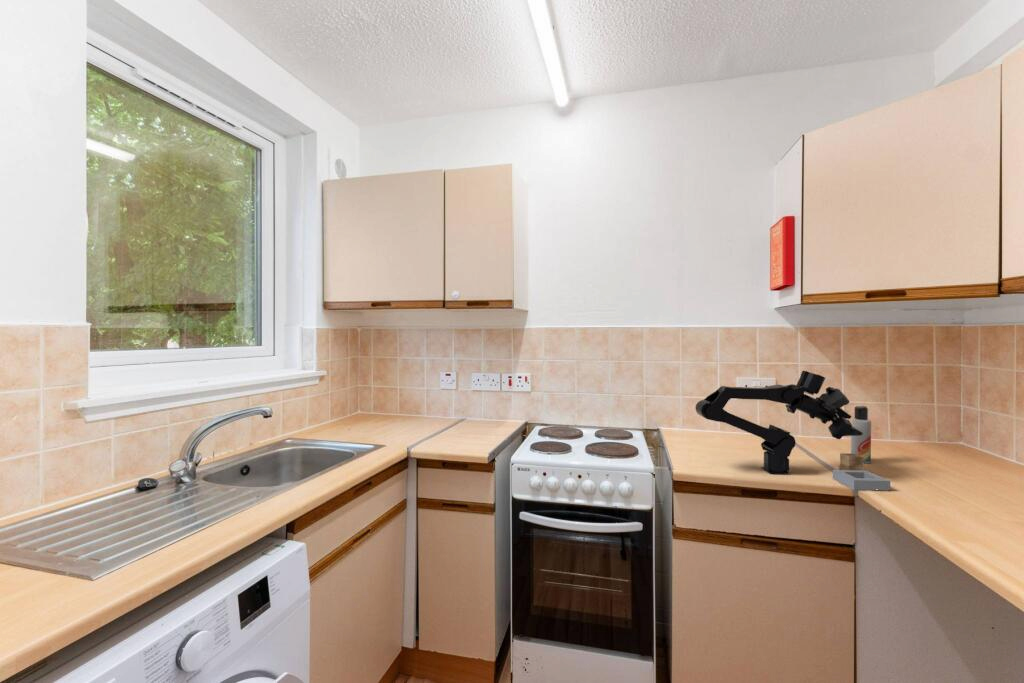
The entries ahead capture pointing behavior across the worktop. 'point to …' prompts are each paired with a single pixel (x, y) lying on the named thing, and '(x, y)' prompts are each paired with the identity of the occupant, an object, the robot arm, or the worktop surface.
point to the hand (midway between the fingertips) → (856, 425)
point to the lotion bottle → (863, 442)
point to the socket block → (861, 480)
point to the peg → (851, 462)
